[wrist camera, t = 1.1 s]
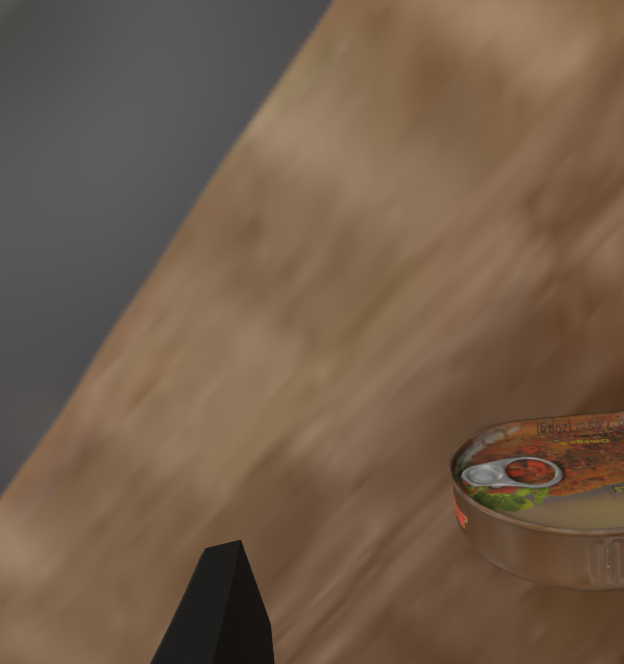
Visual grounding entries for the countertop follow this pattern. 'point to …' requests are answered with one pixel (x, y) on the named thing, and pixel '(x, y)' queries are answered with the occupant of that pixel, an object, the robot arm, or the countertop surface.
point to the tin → (546, 499)
